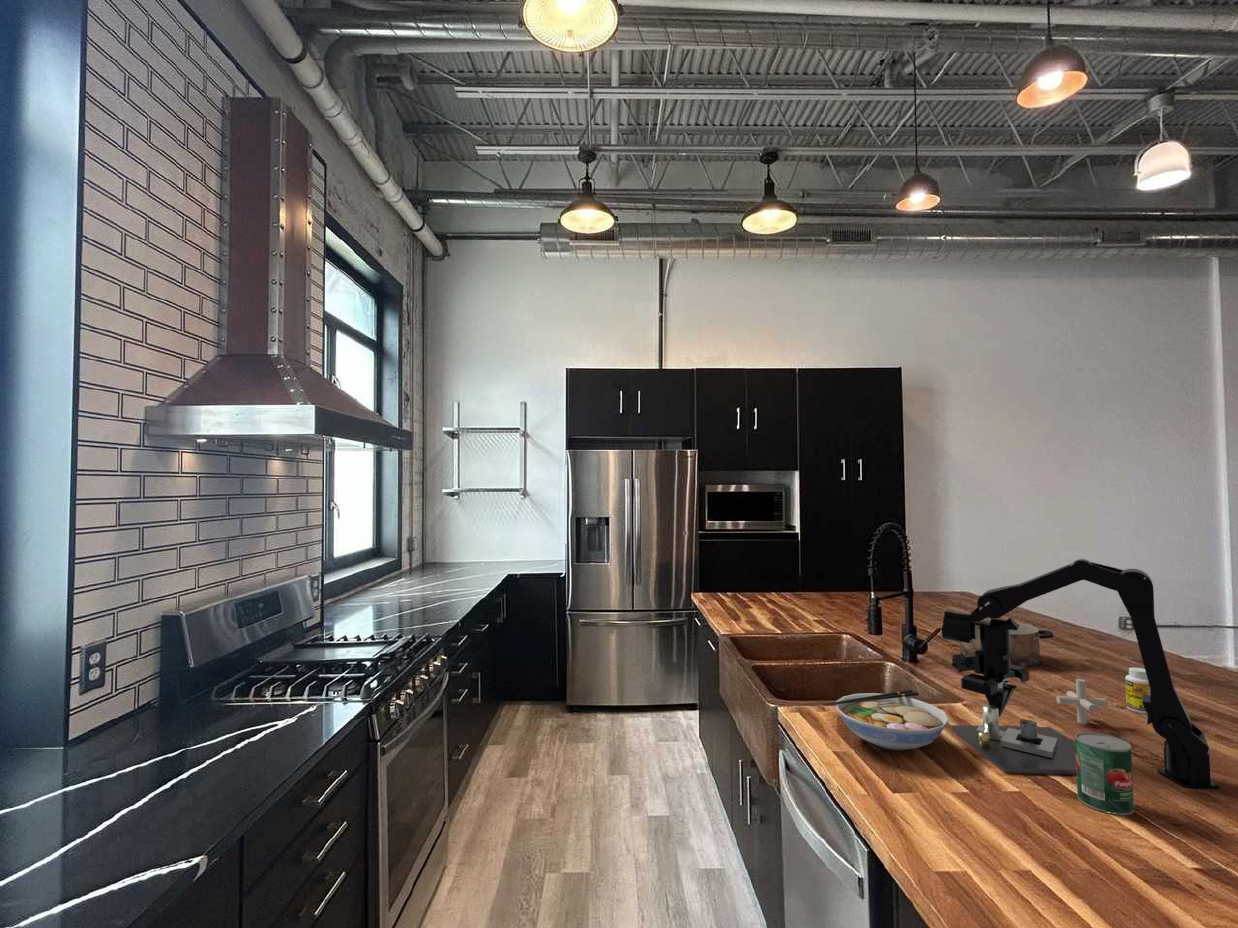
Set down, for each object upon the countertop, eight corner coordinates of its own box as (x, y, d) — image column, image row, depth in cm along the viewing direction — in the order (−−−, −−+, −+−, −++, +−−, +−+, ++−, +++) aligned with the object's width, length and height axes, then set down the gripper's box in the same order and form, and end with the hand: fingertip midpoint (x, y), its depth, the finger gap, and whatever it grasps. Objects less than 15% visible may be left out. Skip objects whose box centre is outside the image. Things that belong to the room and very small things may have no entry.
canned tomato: (1078, 788, 113) (1075, 728, 113) (1133, 802, 108) (1131, 739, 108) (1076, 805, 107) (1073, 742, 107) (1134, 821, 102) (1131, 754, 102)
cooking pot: (944, 660, 199) (943, 627, 200) (950, 645, 218) (949, 615, 219) (1056, 674, 183) (1055, 638, 183) (1053, 657, 202) (1051, 625, 202)
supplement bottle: (1120, 708, 154) (1119, 667, 155) (1136, 705, 156) (1134, 665, 156) (1145, 716, 149) (1143, 673, 149) (1161, 713, 151) (1159, 671, 151)
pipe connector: (1118, 732, 139) (1117, 688, 139) (1069, 729, 141) (1068, 685, 141) (1094, 716, 149) (1092, 675, 149) (1048, 713, 151) (1047, 672, 151)
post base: (1123, 776, 118) (1121, 744, 118) (1005, 773, 119) (1004, 742, 119) (1050, 731, 140) (1049, 705, 140) (951, 729, 141) (950, 703, 141)
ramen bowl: (877, 775, 119) (876, 732, 119) (811, 730, 141) (810, 694, 141) (980, 759, 126) (979, 719, 126) (901, 719, 148) (900, 685, 148)
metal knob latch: (1057, 744, 130) (1056, 714, 130) (1052, 758, 123) (1051, 726, 123) (982, 727, 139) (981, 699, 139) (973, 739, 132) (972, 710, 133)
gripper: (978, 633, 149) (980, 698, 148) (936, 645, 138) (938, 714, 138) (1029, 643, 139) (1031, 712, 139) (988, 656, 129) (989, 731, 129)
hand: (996, 717), depth 136 cm, fingers closed
